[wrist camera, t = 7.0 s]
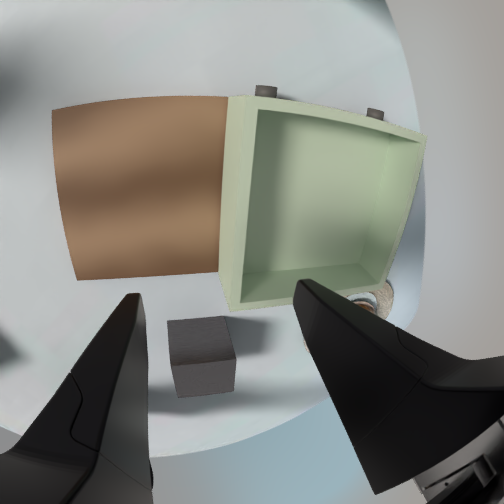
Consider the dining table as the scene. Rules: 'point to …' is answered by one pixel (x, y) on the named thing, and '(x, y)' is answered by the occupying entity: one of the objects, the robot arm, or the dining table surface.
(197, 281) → the dining table surface
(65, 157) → the track
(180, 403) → the dining table surface
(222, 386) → the block
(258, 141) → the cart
